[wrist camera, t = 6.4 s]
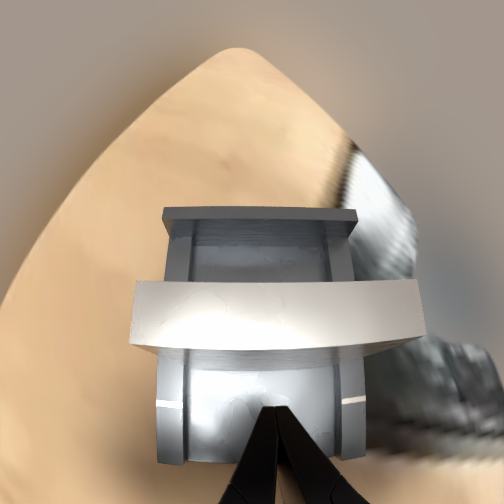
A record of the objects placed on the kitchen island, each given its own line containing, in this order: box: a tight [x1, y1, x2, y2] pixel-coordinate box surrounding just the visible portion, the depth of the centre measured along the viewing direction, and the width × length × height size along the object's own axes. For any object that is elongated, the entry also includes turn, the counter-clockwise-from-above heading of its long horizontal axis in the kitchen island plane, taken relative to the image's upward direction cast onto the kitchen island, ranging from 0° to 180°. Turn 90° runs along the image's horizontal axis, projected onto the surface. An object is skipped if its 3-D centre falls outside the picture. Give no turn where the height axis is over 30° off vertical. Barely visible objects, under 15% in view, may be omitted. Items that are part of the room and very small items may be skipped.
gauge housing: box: [156, 206, 366, 466], centre depth 14 cm, size 14×11×4 cm
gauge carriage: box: [130, 279, 426, 371], centre depth 11 cm, size 4×12×10 cm, turn 90°
